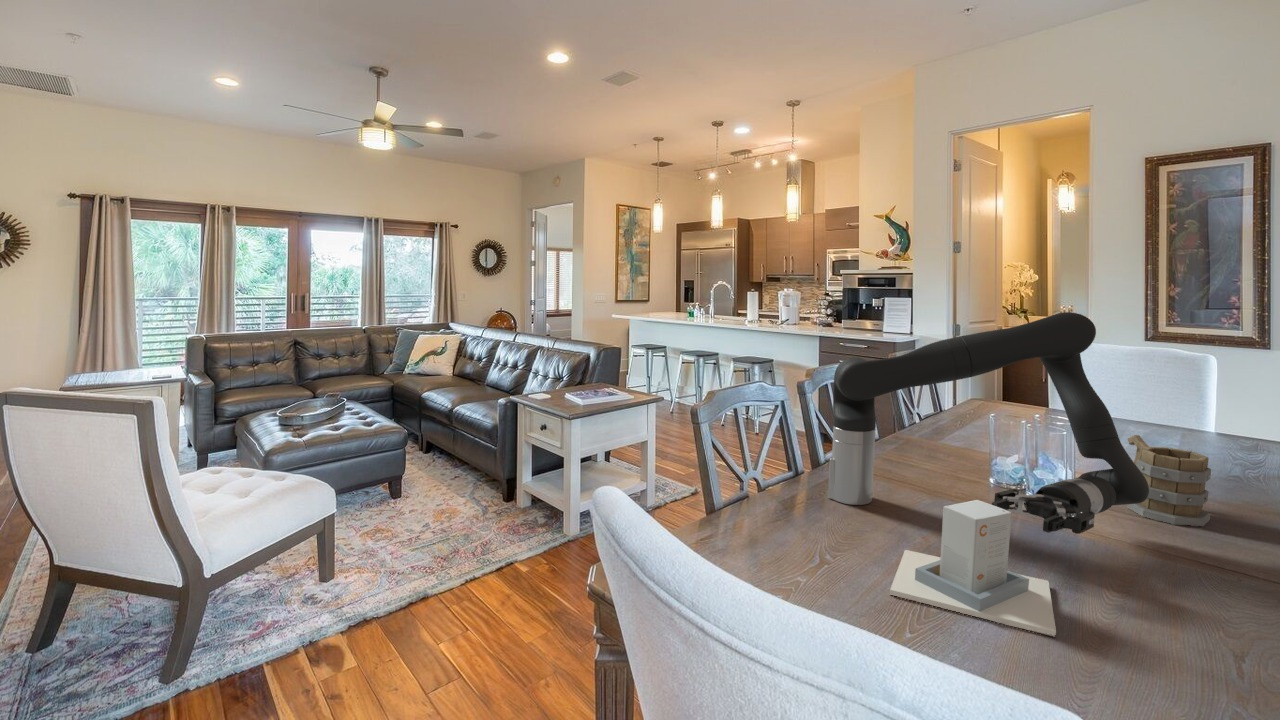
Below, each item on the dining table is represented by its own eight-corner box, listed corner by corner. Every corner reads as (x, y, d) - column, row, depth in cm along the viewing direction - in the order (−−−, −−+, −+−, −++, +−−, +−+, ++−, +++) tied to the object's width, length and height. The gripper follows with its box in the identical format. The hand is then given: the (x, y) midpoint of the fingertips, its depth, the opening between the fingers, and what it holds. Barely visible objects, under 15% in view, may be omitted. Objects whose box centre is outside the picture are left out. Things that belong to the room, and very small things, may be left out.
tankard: (1223, 528, 121) (1232, 458, 119) (1154, 524, 123) (1162, 455, 122) (1156, 494, 141) (1163, 434, 139) (1098, 491, 143) (1104, 431, 141)
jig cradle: (889, 595, 95) (890, 577, 94) (904, 554, 109) (905, 539, 109) (1055, 638, 83) (1057, 618, 83) (1047, 586, 98) (1049, 569, 97)
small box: (971, 571, 101) (977, 498, 99) (1007, 588, 95) (1013, 511, 93) (937, 580, 98) (942, 505, 96) (971, 598, 92) (977, 519, 90)
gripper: (1030, 471, 114) (979, 484, 107) (1116, 493, 102) (1066, 510, 94) (1027, 507, 115) (976, 523, 107) (1112, 534, 103) (1062, 554, 95)
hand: (1018, 517), depth 101 cm, fingers open, 8 cm apart
